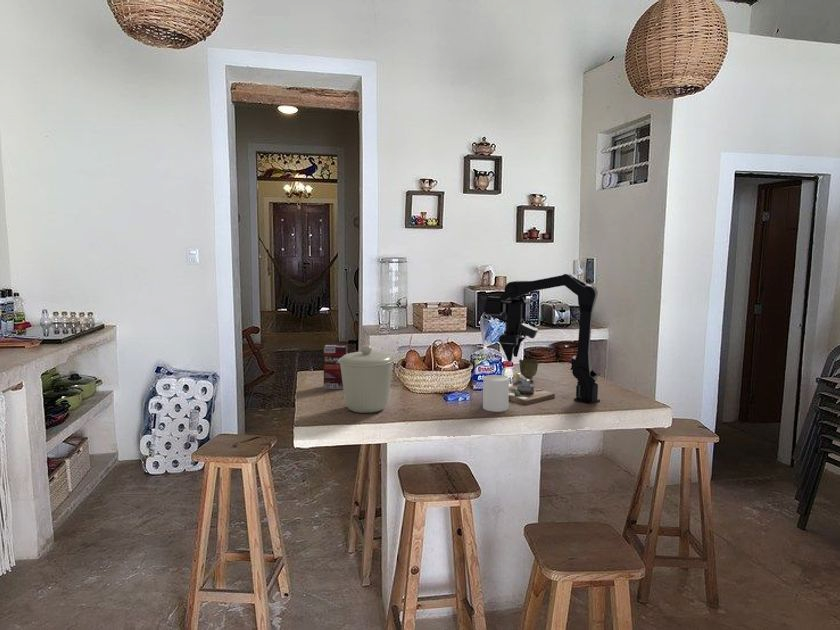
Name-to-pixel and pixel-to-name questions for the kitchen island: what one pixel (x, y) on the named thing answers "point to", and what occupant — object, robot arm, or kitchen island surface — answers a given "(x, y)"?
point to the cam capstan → (524, 385)
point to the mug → (495, 393)
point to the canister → (366, 379)
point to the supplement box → (333, 366)
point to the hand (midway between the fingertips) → (512, 359)
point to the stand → (529, 396)
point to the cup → (528, 368)
